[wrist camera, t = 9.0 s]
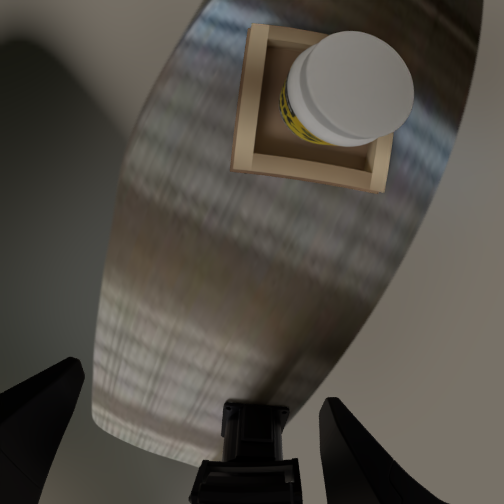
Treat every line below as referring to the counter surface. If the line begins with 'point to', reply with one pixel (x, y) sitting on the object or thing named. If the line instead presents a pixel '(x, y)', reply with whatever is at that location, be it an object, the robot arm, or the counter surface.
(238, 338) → the counter surface
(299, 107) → the supplement bottle
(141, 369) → the counter surface
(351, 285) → the counter surface
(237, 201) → the counter surface
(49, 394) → the robot arm
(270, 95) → the jig cradle
